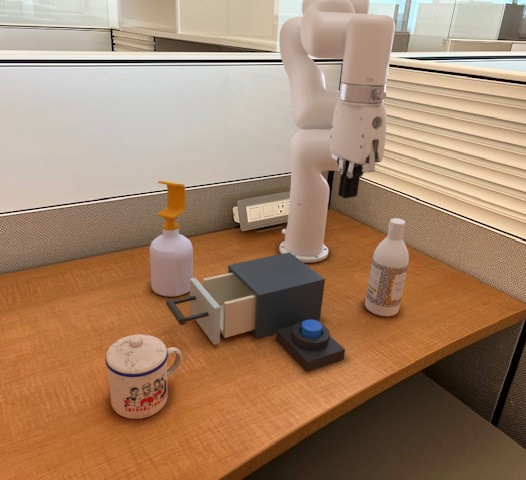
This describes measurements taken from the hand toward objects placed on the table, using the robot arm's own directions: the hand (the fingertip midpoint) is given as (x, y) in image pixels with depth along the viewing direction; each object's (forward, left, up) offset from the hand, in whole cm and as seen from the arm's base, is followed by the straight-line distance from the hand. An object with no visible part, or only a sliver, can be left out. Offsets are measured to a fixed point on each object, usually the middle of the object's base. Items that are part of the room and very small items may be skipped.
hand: (347, 195), depth 89 cm
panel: (+9, -12, -25) cm, 29 cm away
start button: (+9, -12, -21) cm, 26 cm away
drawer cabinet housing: (-4, -12, -25) cm, 28 cm away
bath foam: (+4, +10, -25) cm, 27 cm away
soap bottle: (-22, -27, -25) cm, 43 cm away
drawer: (-4, -24, -24) cm, 34 cm away
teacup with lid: (+8, -42, -25) cm, 50 cm away
